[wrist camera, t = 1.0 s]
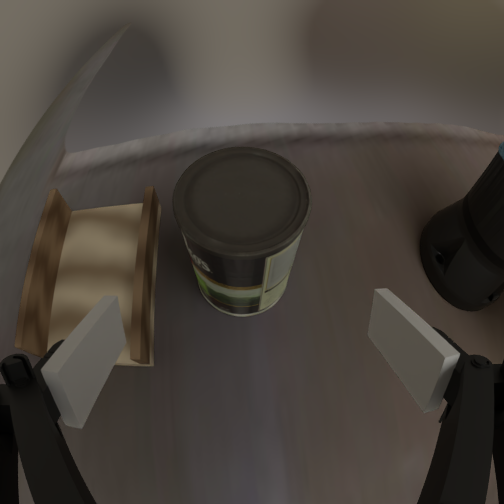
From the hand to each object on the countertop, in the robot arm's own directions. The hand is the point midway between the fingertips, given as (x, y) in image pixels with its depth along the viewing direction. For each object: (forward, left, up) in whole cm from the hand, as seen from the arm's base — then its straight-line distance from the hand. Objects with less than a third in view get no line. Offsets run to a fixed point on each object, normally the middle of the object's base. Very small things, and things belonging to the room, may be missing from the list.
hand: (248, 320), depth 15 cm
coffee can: (+6, -8, -17) cm, 20 cm away
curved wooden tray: (+19, +3, -17) cm, 26 cm away
